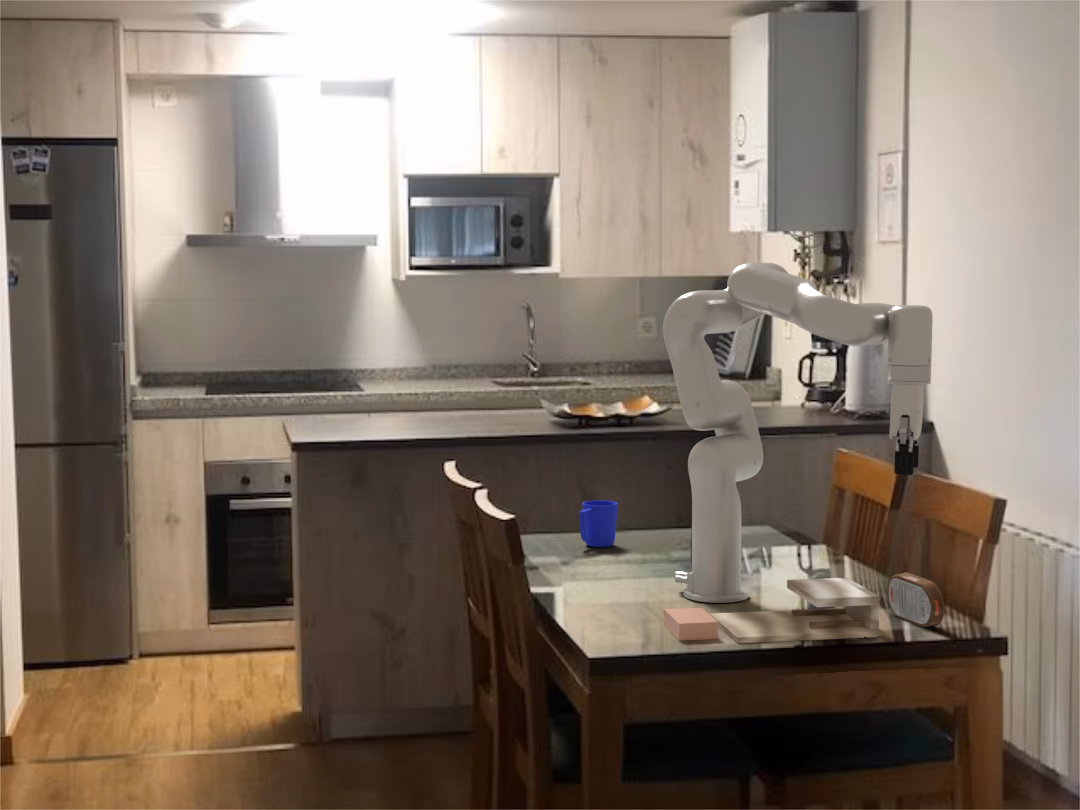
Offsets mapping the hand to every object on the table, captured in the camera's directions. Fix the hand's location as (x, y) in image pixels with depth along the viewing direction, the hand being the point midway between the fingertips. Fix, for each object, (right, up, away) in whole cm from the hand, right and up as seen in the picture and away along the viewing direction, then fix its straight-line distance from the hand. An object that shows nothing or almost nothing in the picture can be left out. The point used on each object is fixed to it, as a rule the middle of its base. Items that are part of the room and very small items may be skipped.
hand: (906, 470), depth 269 cm
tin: (+3, -28, +6) cm, 29 cm away
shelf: (-20, -28, +2) cm, 35 cm away
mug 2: (-29, -24, +52) cm, 64 cm away
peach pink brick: (-39, -29, -1) cm, 48 cm away
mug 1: (-53, -21, +79) cm, 97 cm away
